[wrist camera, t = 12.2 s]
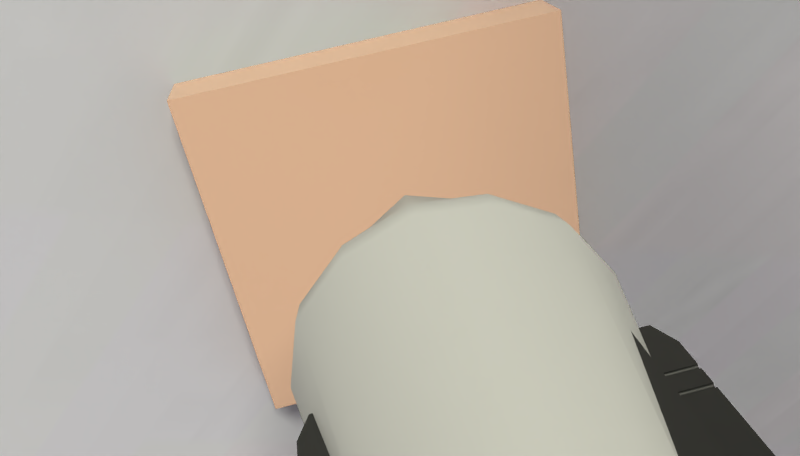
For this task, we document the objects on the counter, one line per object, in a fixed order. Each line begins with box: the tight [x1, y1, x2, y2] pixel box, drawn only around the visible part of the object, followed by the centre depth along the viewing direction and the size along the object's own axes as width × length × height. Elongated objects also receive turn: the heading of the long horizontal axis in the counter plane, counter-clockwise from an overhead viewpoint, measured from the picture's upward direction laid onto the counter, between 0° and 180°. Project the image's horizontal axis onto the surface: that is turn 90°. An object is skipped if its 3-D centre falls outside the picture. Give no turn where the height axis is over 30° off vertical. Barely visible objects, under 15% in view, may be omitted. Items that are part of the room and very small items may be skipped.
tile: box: [167, 0, 580, 409], centre depth 25 cm, size 2×12×12 cm
